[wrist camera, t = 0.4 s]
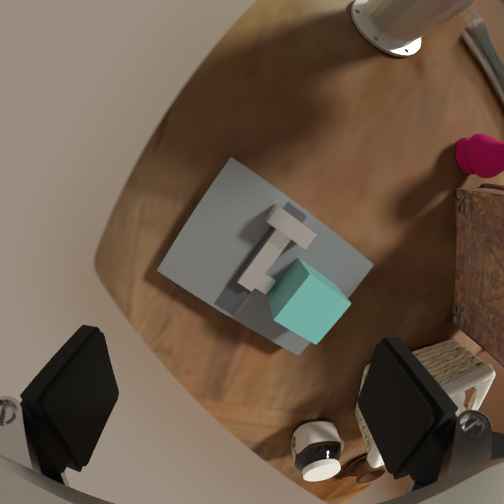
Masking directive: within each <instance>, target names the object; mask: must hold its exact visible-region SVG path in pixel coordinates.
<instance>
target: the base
mask: <svg viewBox="0 0 504 504" xmlns="http://www.w3.org/2000/svg"><path fill="white" fill-rule="evenodd" d="M274 204H276V205H278V206H279V207H281V208H282V209H283V210H285V211H286V212H287V213H289V214H290V215H292V216H293V217H294V218H296V219H297V220H298V221H300V222H301V223H302V224H304V225H305V226H306V227H308V228H309V229H310V230H312V231H313V232H314V233H316V234H317V235H316V236H315V238H314V239H313V240H312V242H311V243H310V245H309V246H308V247H307V249H306V250H305V249H304V248H302V247H301V246H300V245H298V244H297V243H296V242H294V241H293V240H290V242H289V243H288V244H287V246H286V247H285V248H284V250H283V251H282V252H281V254H280V255H279V256H278V258H277V259H276V260H275V262H274V263H273V264H272V266H271V267H270V268H269V270H268V271H267V272H266V273H268V274H269V275H271V276H272V277H274V278H275V280H276V282H275V283H274V284H273V286H272V287H271V288H270V290H269V291H268V292H267V293H266V294H264V293H262V292H261V291H259V290H258V289H256V288H254V290H253V291H250V290H248V289H247V288H245V287H244V286H242V285H241V284H239V283H237V278H238V276H239V275H240V273H241V272H242V271H243V269H244V268H245V267H246V265H247V264H248V262H249V261H250V260H251V258H252V257H253V256H254V254H255V253H256V251H257V250H258V249H259V247H260V246H261V245H262V243H263V242H264V240H265V239H266V238H267V236H268V235H269V234H270V232H271V231H272V229H273V228H274V227H273V226H272V225H270V224H269V223H267V221H266V220H265V217H266V215H267V214H268V212H269V211H270V210H271V208H272V207H273V206H274ZM297 258H299V259H301V260H302V261H304V262H305V263H306V264H308V265H309V266H311V267H312V268H313V269H315V270H316V271H318V272H319V273H320V274H322V275H323V276H325V277H326V278H327V279H329V280H330V281H332V282H333V283H334V284H335V285H336V286H337V287H338V288H339V289H340V291H341V292H342V293H343V294H344V295H345V296H346V298H347V299H348V298H349V297H350V295H351V294H352V293H353V292H354V290H355V289H356V288H357V287H358V285H359V284H360V283H361V281H362V280H363V279H364V277H365V276H366V275H367V273H368V272H369V271H370V269H371V268H372V267H373V265H374V264H373V263H371V262H370V261H369V260H368V259H367V258H365V257H364V256H363V255H362V254H361V253H359V252H358V251H357V250H356V249H355V248H353V247H352V246H351V245H350V244H349V243H347V242H346V241H345V240H344V239H342V238H341V237H340V236H339V235H337V234H336V233H335V232H334V231H332V230H331V229H330V228H329V227H327V226H326V225H325V224H323V223H322V222H321V221H320V220H318V219H317V218H316V217H314V216H313V215H312V214H310V213H309V212H308V211H306V210H305V209H304V208H303V207H301V206H300V205H299V204H297V203H296V202H294V201H293V200H292V199H290V198H289V197H288V196H286V195H285V194H284V193H282V192H281V191H279V190H278V189H277V188H275V187H274V186H273V185H271V184H270V183H268V182H267V181H266V180H264V179H263V178H261V177H260V176H258V175H257V174H256V173H254V172H253V171H251V170H250V169H248V168H247V167H245V166H244V165H243V164H241V163H240V162H238V161H237V160H235V159H234V158H232V157H230V159H229V160H228V162H227V163H226V164H225V166H224V167H223V169H222V170H221V172H220V173H219V174H218V176H217V177H216V179H215V180H214V182H213V183H212V185H211V186H210V187H209V189H208V190H207V192H206V193H205V195H204V196H203V198H202V199H201V201H200V202H199V204H198V205H197V207H196V208H195V210H194V211H193V213H192V214H191V216H190V218H189V219H188V221H187V222H186V224H185V225H184V227H183V229H182V230H181V232H180V233H179V235H178V236H177V238H176V240H175V241H174V243H173V245H172V246H171V248H170V249H169V251H168V253H167V254H166V256H165V258H164V259H163V261H162V263H161V264H160V266H159V268H158V270H157V271H158V272H160V273H161V274H163V275H164V276H166V277H167V278H169V279H170V280H172V281H173V282H175V283H176V284H178V285H179V286H181V287H182V288H184V289H186V290H187V291H189V292H190V293H192V294H193V295H195V296H196V297H198V298H200V299H201V300H203V301H204V302H206V303H208V304H209V305H211V306H212V307H214V308H216V309H217V310H219V311H221V312H222V313H224V314H226V315H227V316H229V317H231V318H232V319H234V320H236V321H237V322H239V323H241V324H242V325H244V326H246V327H248V328H249V329H251V330H253V331H254V332H256V333H258V334H260V335H261V336H263V337H265V338H267V339H269V340H270V341H272V342H274V343H276V344H278V345H279V346H281V347H283V348H285V349H287V350H289V351H290V352H292V353H294V354H296V355H298V356H299V355H300V354H301V353H302V351H303V350H304V349H305V348H306V347H307V346H308V345H309V344H310V343H311V342H310V341H308V340H307V339H305V338H303V337H301V336H300V335H298V334H296V333H295V332H293V331H291V330H289V329H288V328H286V327H284V326H283V325H281V324H279V323H278V322H276V321H274V320H273V316H272V312H271V307H270V303H269V298H268V296H269V295H270V294H271V292H272V291H273V290H274V288H275V287H276V286H277V285H278V283H279V282H280V281H281V279H282V278H283V277H284V275H285V274H286V273H287V272H288V270H289V269H290V268H291V266H292V265H293V264H294V262H295V261H296V260H297Z"/></svg>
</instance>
